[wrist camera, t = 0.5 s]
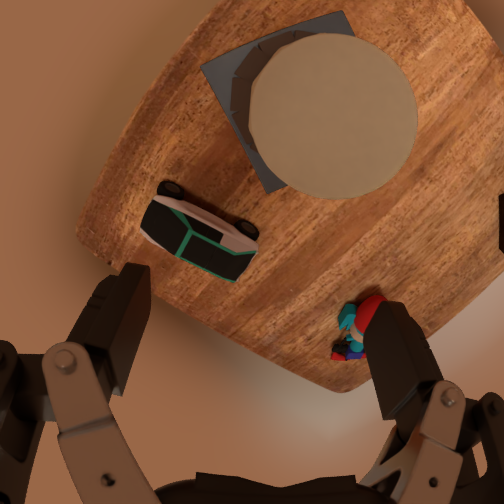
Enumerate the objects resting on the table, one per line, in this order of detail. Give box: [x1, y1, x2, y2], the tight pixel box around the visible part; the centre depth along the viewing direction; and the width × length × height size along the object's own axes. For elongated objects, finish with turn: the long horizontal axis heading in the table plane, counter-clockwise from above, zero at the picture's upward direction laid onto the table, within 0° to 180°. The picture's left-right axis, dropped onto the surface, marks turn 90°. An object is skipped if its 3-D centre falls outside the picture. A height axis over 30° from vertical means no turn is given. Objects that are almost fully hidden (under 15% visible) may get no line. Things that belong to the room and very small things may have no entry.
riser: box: [200, 10, 355, 194], centre depth 21 cm, size 9×9×12 cm
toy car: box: [140, 181, 259, 283], centre depth 32 cm, size 6×12×5 cm, turn 59°
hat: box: [230, 30, 418, 200], centre depth 13 cm, size 8×8×8 cm
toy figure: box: [331, 295, 388, 361], centre depth 40 cm, size 8×5×15 cm
